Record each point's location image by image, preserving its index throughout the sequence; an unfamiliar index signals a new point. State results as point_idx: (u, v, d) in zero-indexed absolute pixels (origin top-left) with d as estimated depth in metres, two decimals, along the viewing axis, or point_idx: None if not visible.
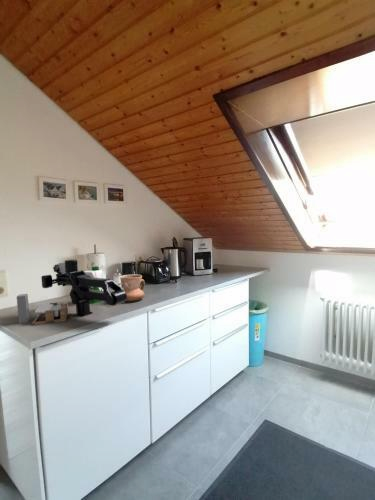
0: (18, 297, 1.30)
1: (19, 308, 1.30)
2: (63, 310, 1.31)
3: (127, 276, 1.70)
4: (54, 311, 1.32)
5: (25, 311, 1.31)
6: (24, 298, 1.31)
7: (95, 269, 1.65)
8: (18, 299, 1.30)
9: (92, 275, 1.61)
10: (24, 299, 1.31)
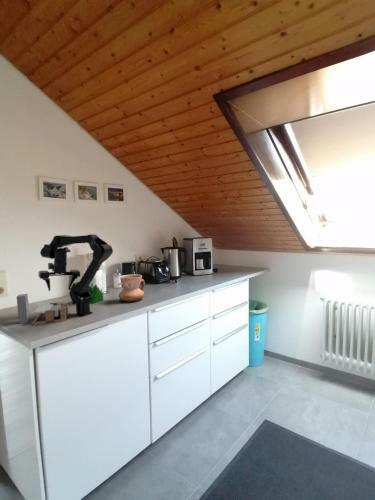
0: (18, 297, 1.30)
1: (19, 308, 1.30)
2: (63, 310, 1.31)
3: (127, 276, 1.70)
4: (54, 311, 1.32)
5: (25, 311, 1.31)
6: (24, 298, 1.31)
7: None
8: (18, 299, 1.30)
9: None
10: (24, 299, 1.31)
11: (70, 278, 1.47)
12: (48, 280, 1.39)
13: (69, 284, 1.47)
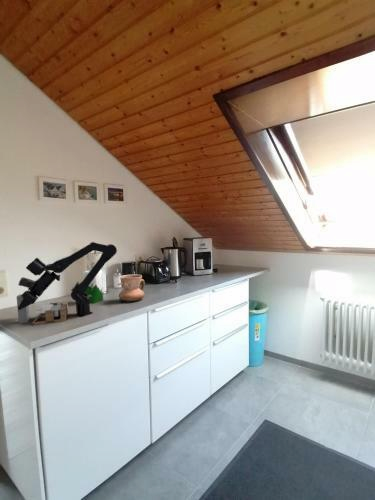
0: (18, 297, 1.30)
1: None
2: (63, 310, 1.31)
3: (127, 276, 1.70)
4: (54, 311, 1.32)
5: (25, 311, 1.31)
6: None
7: None
8: (18, 299, 1.30)
9: None
10: None
11: None
12: None
13: None
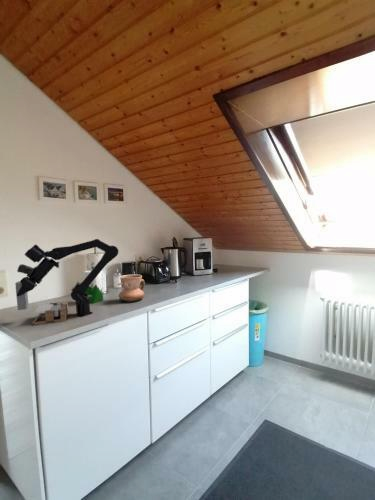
0: (17, 284, 1.30)
1: None
2: (63, 310, 1.31)
3: (127, 276, 1.70)
4: (54, 311, 1.32)
5: (24, 298, 1.31)
6: None
7: None
8: (17, 286, 1.30)
9: None
10: None
11: None
12: (31, 289, 1.30)
13: None
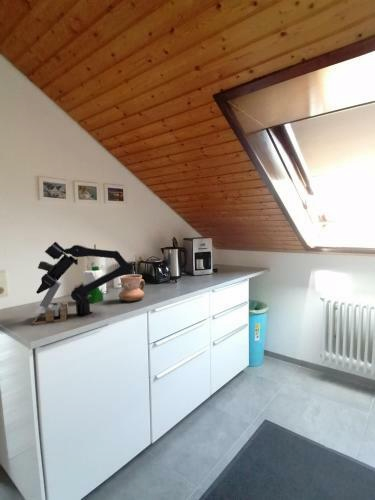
0: None
1: (48, 292, 1.34)
2: (63, 310, 1.31)
3: (127, 276, 1.70)
4: (54, 311, 1.32)
5: (51, 298, 1.34)
6: (58, 286, 1.35)
7: (95, 269, 1.65)
8: None
9: (92, 275, 1.61)
10: (57, 287, 1.35)
11: None
12: (51, 286, 1.31)
13: None
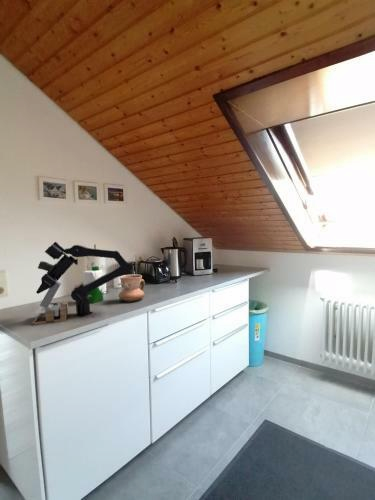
0: None
1: (48, 292, 1.34)
2: (63, 310, 1.31)
3: (127, 276, 1.70)
4: (54, 311, 1.32)
5: (51, 298, 1.34)
6: (58, 286, 1.35)
7: (95, 269, 1.65)
8: None
9: (92, 275, 1.61)
10: (57, 287, 1.35)
11: None
12: (51, 286, 1.31)
13: None
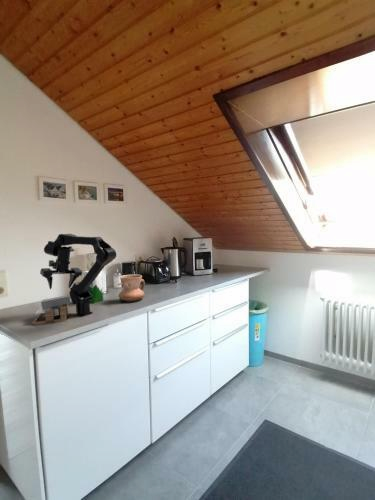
0: (68, 298, 1.38)
1: (57, 300, 1.37)
2: (63, 310, 1.31)
3: (127, 276, 1.70)
4: (54, 310, 1.32)
5: (54, 305, 1.36)
6: (67, 303, 1.38)
7: None
8: (66, 298, 1.38)
9: None
10: (66, 303, 1.38)
11: (71, 276, 1.47)
12: (51, 278, 1.38)
13: (70, 282, 1.47)
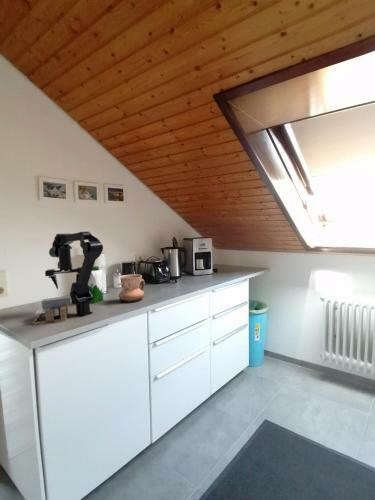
0: (68, 299, 1.38)
1: (57, 300, 1.37)
2: (63, 310, 1.31)
3: (127, 276, 1.70)
4: (54, 310, 1.32)
5: (54, 306, 1.37)
6: (67, 304, 1.38)
7: (95, 269, 1.65)
8: (66, 299, 1.38)
9: (92, 275, 1.61)
10: (67, 304, 1.38)
11: None
12: (53, 277, 1.43)
13: (76, 281, 1.49)
